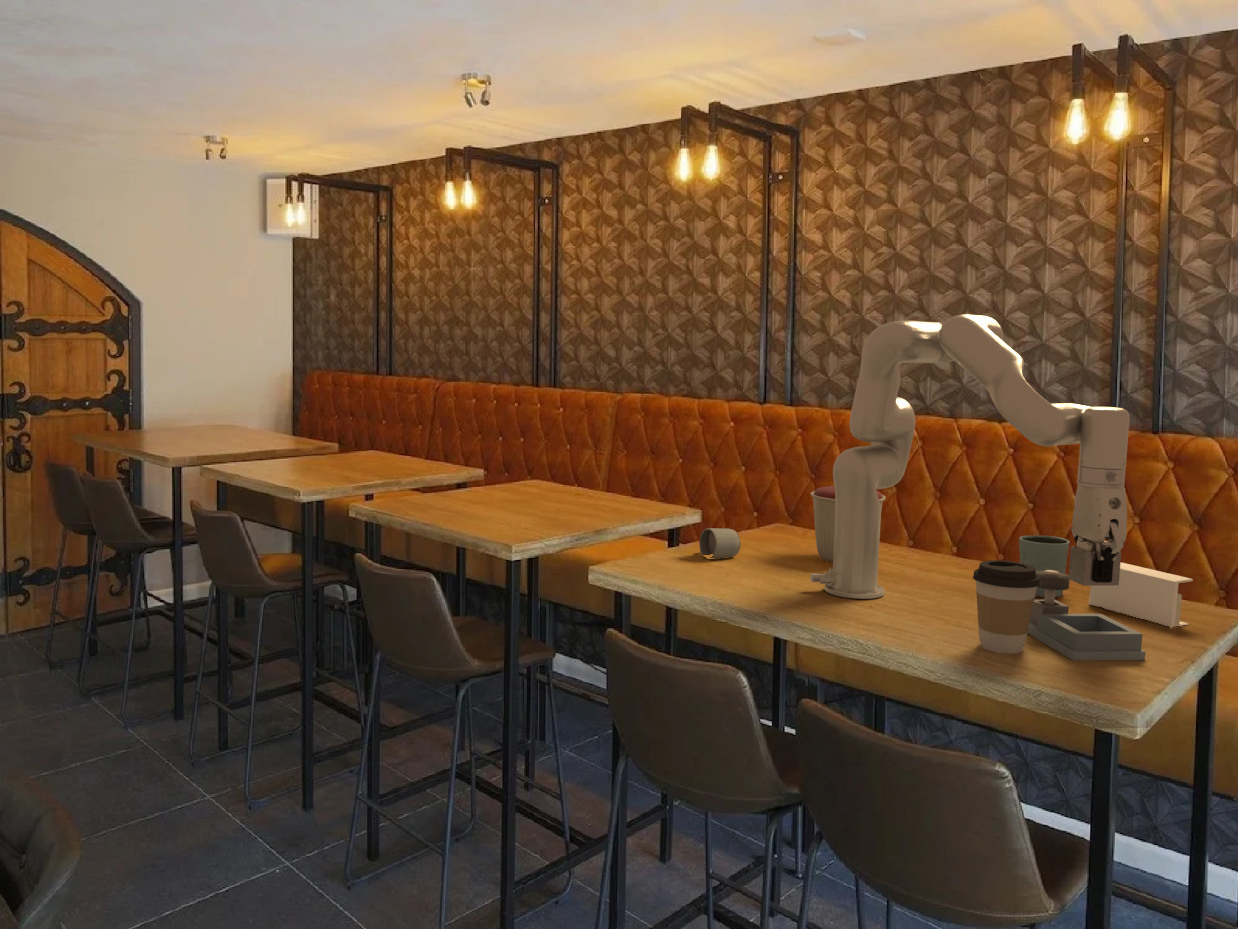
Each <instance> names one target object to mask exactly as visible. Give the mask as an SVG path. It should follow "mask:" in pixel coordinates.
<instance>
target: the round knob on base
mask: <svg viewBox="0 0 1238 929" xmlns="http://www.w3.org/2000/svg"><path fill="white" fill-rule="evenodd" d="M1036 575H1038V576H1039V577H1040V583H1041V584H1040V585H1039V586H1037V587H1039V588H1043V589H1045V595H1044V597H1043V598H1044V599H1043V600H1044V605H1054V601H1055V600H1056V599H1055V598H1056V597H1055V590H1063V591H1066V590H1069V589H1070V581H1071V580H1070V579H1068V578H1069V574H1067V573H1065V574H1064V573H1060V572H1058V571H1054V570H1045V571H1036Z"/></svg>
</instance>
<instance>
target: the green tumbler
mask: <svg viewBox="0 0 1238 929" xmlns="http://www.w3.org/2000/svg"><path fill="white" fill-rule="evenodd" d="M1018 542H1019V544H1018V545H1019V563H1024V564H1028V565H1030V566H1033V567H1034V568H1035V570H1036V571H1045V570H1054V571H1058V572H1060V573H1064V574H1066V572H1067V570H1066V569H1067V562H1068V561H1067V560H1068V554H1069V548H1070V541H1069V540H1068V539H1066V538H1063V537H1060V536H1052V535H1042V534H1041V535H1040V534H1039V535H1037V534H1035V535H1031V534H1030V535H1021V536H1020V537H1019V539H1018ZM1063 593H1064V590H1055V598H1060V597H1062V596H1063ZM1044 595H1045V589H1043V588H1039V587H1037V589H1036V594H1035V597H1037V596H1040V598H1044Z"/></svg>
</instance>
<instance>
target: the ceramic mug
mask: <svg viewBox="0 0 1238 929" xmlns="http://www.w3.org/2000/svg"><path fill="white" fill-rule="evenodd" d="M698 542H699V544H698V545H699V546H698V547H699V552H700V553H701V555H702V556H703V555H710V554H713V556H712V557H710V558H720V559H725V558H724V557H730V558H733V557H736V556H737V555H738V554H739V551H740V550H741V545H742V544H741V537H740V535H739V533H738V532H737V531H736V530H734V529H731V528H719V527H718V528H715V527H713V528H712V527H710V528H709V527H708V528H707V527H706V528H705V529H704V530H702V531H701V533H700V536H699V541H698Z"/></svg>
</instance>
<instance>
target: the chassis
mask: <svg viewBox="0 0 1238 929" xmlns="http://www.w3.org/2000/svg"><path fill="white" fill-rule="evenodd" d="M1027 635H1030V636H1031V637H1033V638H1034V639H1036V640H1038V641H1040V642H1042V643H1043V644H1045V645H1047V646H1048V647H1049V648H1052V649H1053V650H1055V651H1057V652H1058V653H1060V654H1062V655H1063V656H1065V657H1067V658H1069V659H1070V660H1072V661H1146V651H1145V650H1143V649H1142V644H1143V635H1144V634H1143V633H1142V632H1140V631H1138V630H1136V629H1133V628H1131V627H1129V626H1127V625H1125V624H1123V623H1121V622H1119V621H1116V620H1115V619H1113V618H1111V617H1109V616H1106V615H1105V614H1102V613H1069V606H1068V605H1067V604H1065V603H1063V602H1060V601H1059V600H1056V599H1055V601H1054V605H1044V599H1034V603H1033V608H1032V612H1031V617H1030V622H1029V627H1028V631H1027Z"/></svg>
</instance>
